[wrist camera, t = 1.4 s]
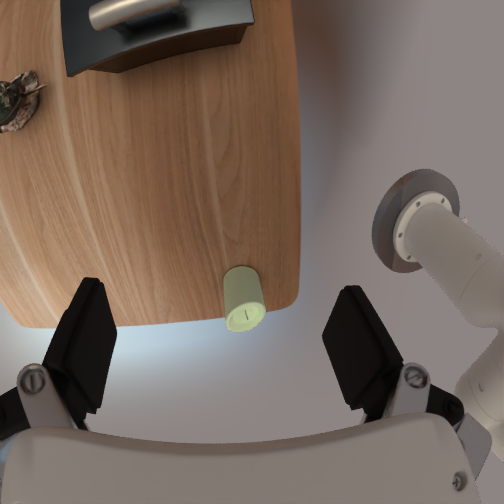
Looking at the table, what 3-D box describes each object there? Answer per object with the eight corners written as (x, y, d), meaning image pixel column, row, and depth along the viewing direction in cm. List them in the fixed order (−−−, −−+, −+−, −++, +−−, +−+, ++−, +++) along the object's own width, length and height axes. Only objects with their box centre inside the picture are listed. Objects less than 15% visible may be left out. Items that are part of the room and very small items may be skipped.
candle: (260, 265, 38) (269, 306, 31) (257, 292, 40) (265, 335, 33) (223, 265, 37) (225, 307, 30) (223, 293, 40) (225, 336, 33)
